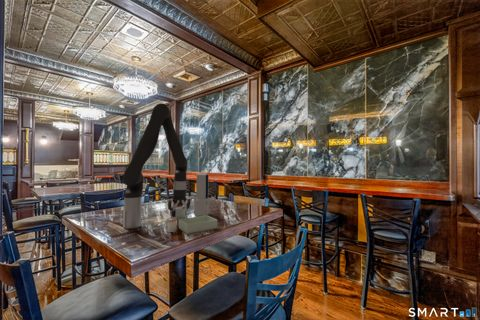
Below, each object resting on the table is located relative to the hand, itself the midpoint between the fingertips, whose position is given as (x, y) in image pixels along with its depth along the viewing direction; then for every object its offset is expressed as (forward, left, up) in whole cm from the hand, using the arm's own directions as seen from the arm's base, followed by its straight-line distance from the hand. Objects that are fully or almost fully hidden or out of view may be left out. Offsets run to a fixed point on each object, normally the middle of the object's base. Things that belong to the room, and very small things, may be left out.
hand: (178, 216), depth 131 cm
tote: (+7, -13, -5) cm, 16 cm away
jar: (-7, -10, -5) cm, 14 cm away
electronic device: (+23, +16, -5) cm, 28 cm away
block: (0, 0, -1) cm, 1 cm away
